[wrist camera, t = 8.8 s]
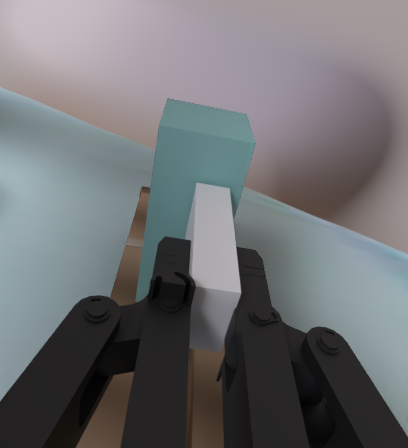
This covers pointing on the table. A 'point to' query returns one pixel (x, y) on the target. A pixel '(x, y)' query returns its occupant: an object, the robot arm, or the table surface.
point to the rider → (191, 170)
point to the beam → (122, 383)
